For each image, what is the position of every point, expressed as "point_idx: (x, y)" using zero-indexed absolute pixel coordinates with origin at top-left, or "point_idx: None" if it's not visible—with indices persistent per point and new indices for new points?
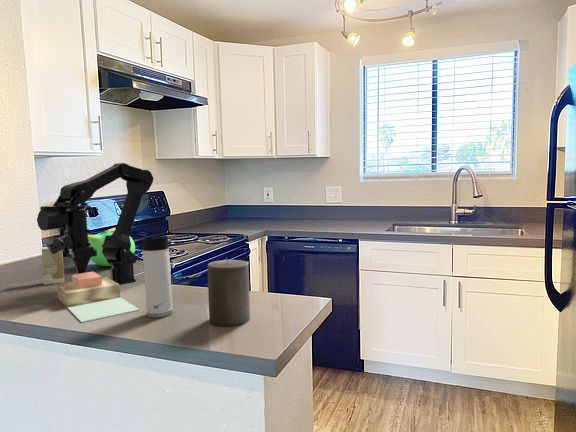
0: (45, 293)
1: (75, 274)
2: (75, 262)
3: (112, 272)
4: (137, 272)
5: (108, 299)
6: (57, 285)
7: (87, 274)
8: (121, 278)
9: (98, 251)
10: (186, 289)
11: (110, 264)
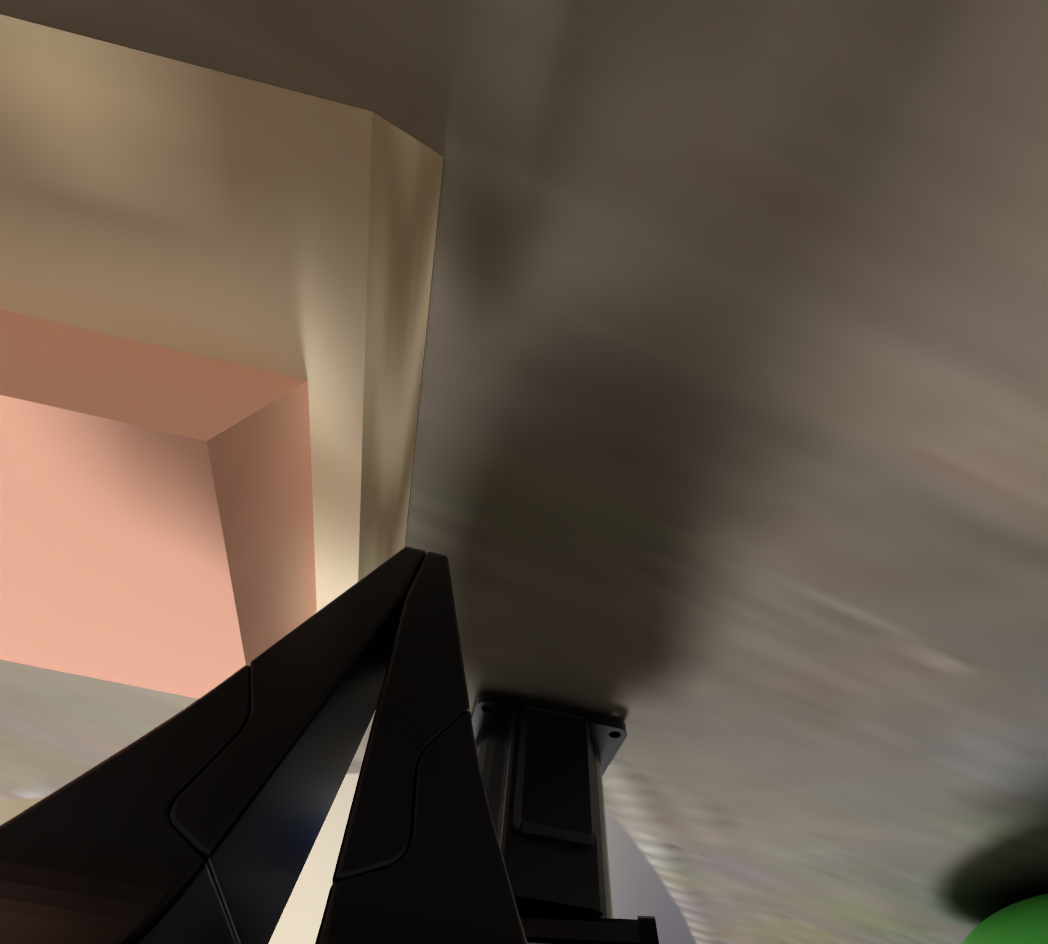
0: (906, 163)
1: (195, 496)
2: (86, 826)
3: (520, 796)
4: (687, 855)
5: None
6: (304, 94)
7: (52, 591)
8: (482, 756)
9: None
10: (67, 760)
11: (1038, 909)
